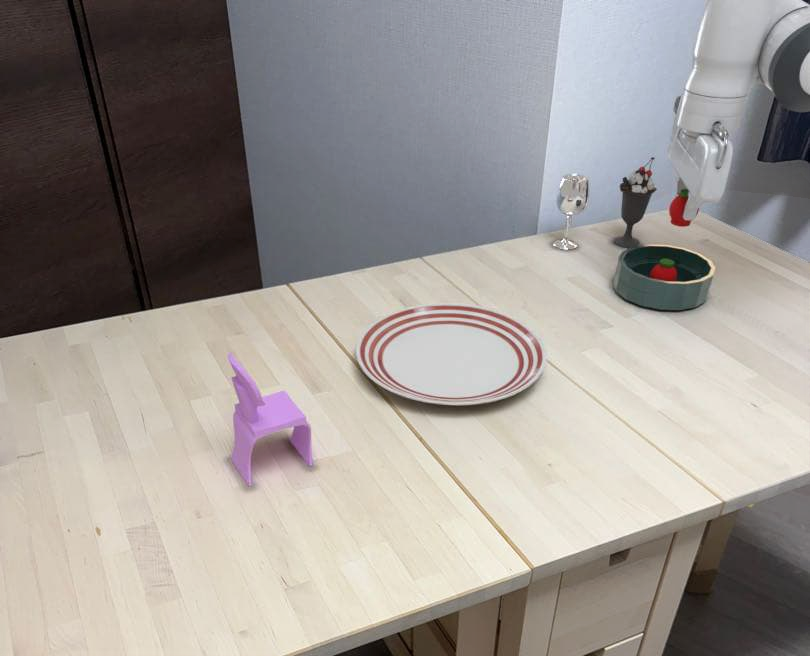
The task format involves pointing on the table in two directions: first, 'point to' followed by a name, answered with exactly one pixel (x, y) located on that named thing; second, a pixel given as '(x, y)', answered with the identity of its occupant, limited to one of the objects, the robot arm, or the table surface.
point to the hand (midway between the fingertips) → (683, 211)
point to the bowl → (658, 293)
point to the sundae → (634, 202)
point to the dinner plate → (451, 354)
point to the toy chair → (263, 420)
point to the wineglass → (571, 202)
